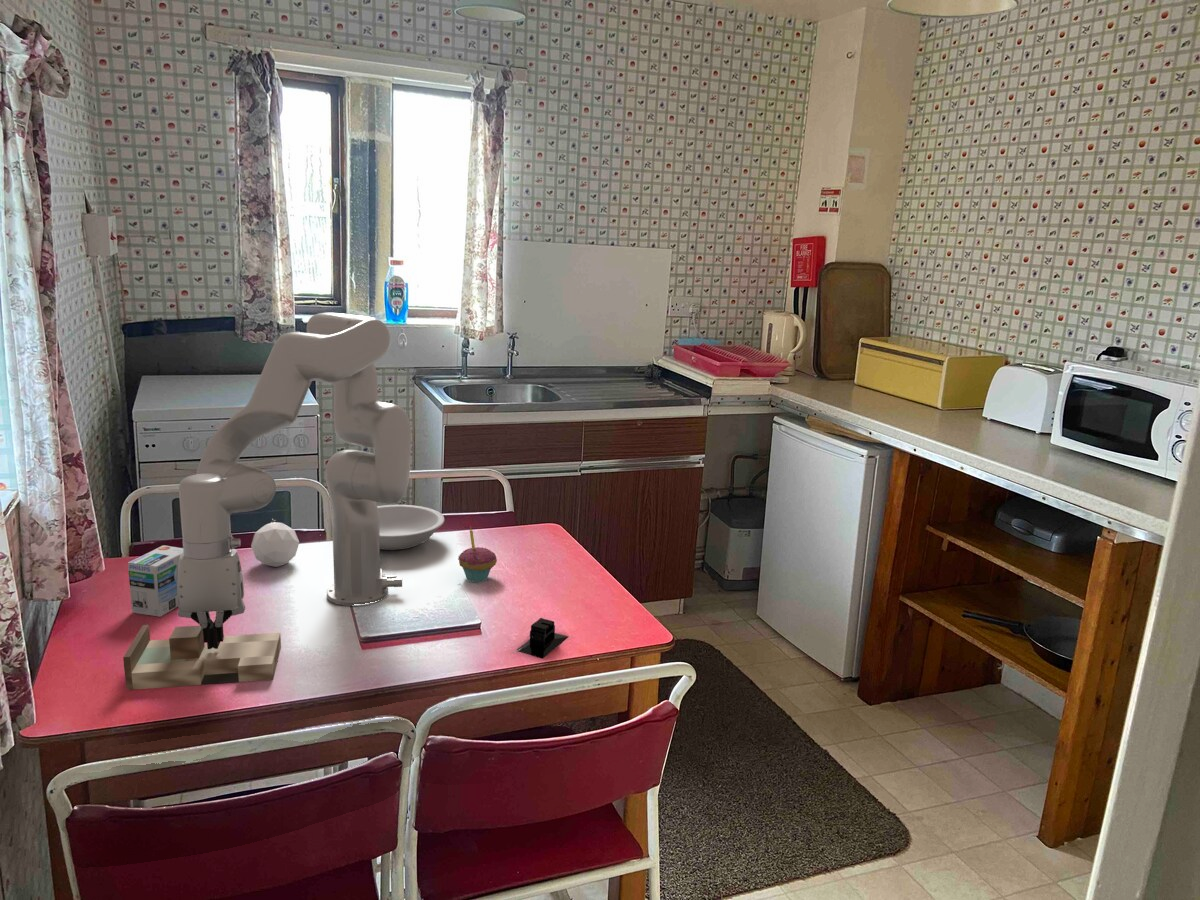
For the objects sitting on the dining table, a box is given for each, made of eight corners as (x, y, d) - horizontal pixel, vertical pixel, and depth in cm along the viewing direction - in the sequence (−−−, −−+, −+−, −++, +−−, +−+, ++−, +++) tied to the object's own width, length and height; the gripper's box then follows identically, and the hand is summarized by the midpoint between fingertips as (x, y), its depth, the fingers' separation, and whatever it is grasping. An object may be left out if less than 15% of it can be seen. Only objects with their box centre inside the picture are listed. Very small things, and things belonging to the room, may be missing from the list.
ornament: (252, 574, 193) (252, 554, 206) (301, 569, 196) (298, 550, 210) (249, 531, 191) (249, 514, 204) (299, 527, 194) (296, 511, 208)
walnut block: (204, 646, 154) (203, 625, 153) (199, 658, 150) (197, 636, 149) (177, 647, 153) (175, 626, 152) (170, 659, 149) (168, 638, 148)
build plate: (542, 665, 160) (543, 641, 159) (506, 655, 163) (506, 631, 162) (574, 637, 172) (575, 614, 171) (540, 628, 175) (541, 606, 174)
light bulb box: (160, 618, 171) (156, 566, 168) (130, 613, 172) (125, 562, 169) (195, 596, 181) (192, 548, 178) (167, 592, 182) (163, 544, 180)
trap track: (281, 647, 161) (279, 617, 160) (272, 679, 150) (271, 647, 148) (145, 656, 156) (142, 625, 154) (126, 690, 144) (123, 657, 143)
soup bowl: (417, 522, 232) (416, 499, 230) (462, 550, 214) (462, 524, 212) (329, 538, 217) (328, 513, 215) (370, 569, 199) (369, 542, 197)
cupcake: (451, 581, 195) (451, 530, 192) (470, 568, 202) (471, 519, 199) (484, 588, 192) (485, 537, 189) (503, 575, 199) (504, 525, 196)
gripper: (257, 537, 153) (262, 633, 157) (164, 540, 149) (172, 638, 154) (251, 552, 146) (256, 652, 150) (154, 556, 142) (162, 658, 147)
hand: (214, 645), depth 152 cm, fingers closed
